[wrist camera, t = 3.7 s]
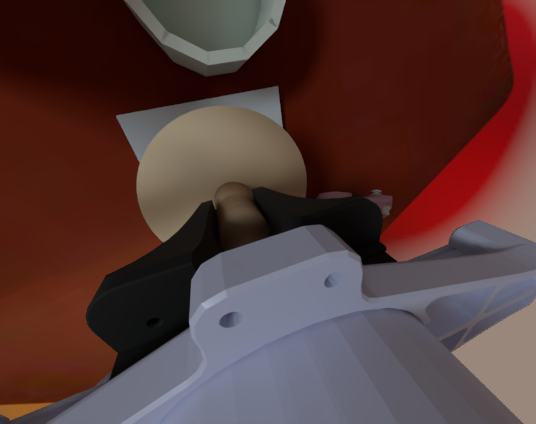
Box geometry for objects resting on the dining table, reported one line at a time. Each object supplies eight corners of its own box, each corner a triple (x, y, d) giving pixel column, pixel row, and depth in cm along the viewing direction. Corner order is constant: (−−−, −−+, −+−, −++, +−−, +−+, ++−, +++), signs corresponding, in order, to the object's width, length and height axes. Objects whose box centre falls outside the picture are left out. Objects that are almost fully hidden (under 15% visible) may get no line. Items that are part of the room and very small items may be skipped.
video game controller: (358, 193, 28) (407, 188, 21) (358, 225, 28) (407, 229, 21) (298, 189, 25) (334, 182, 18) (297, 225, 25) (333, 230, 18)
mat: (289, 203, 23) (291, 205, 23) (179, 236, 21) (179, 239, 21) (275, 86, 17) (278, 85, 17) (118, 115, 15) (115, 115, 14)
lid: (306, 231, 17) (342, 274, 13) (182, 273, 16) (174, 340, 11) (295, 89, 12) (352, 78, 7) (98, 128, 10) (14, 144, 5)
